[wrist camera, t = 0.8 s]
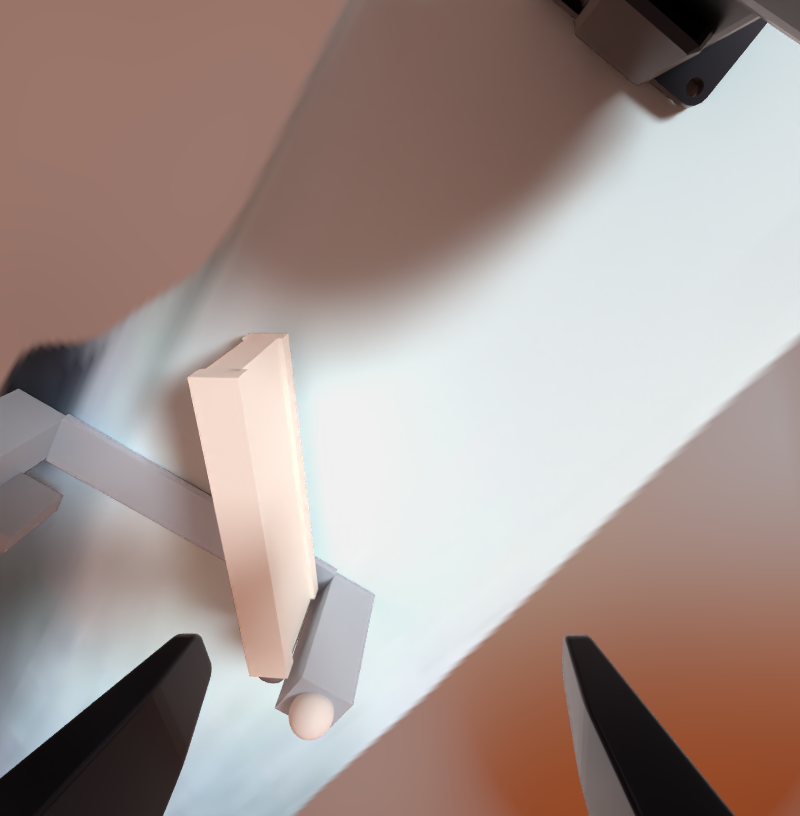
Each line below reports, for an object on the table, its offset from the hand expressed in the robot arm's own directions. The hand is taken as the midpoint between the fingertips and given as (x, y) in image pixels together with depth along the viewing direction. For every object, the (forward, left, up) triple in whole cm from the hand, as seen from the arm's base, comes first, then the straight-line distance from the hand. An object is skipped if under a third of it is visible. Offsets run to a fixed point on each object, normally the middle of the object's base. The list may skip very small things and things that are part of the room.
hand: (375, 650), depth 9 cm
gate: (+7, -2, -12) cm, 14 cm away
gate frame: (+12, -5, -13) cm, 19 cm away
